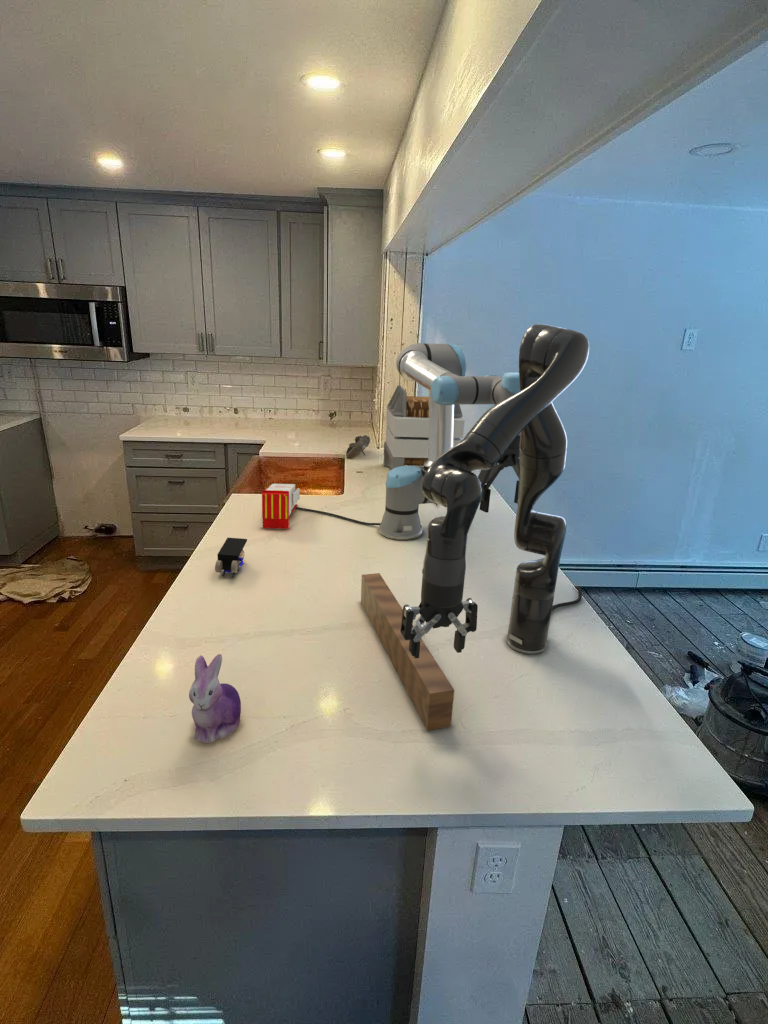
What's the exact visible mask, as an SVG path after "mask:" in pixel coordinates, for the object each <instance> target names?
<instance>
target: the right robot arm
mask: <svg viewBox="0 0 768 1024" xmlns="http://www.w3.org/2000/svg"><path fill="white" fill-rule="evenodd" d="M589 354H590V342H589V339H588V337H587V335H585V334H584V333H583V332H580V331H577V330H574V329H569V328H565V327H560V326H555V325H554V326H553V325H550V324H545V323H535V324H533V325H531V326H529V327H528V328H527V329H526V331H524V334H523V337H522V338H521V342H520V344H519V350H518V373H519V381H520V392H518V393H516V394H515V395H513V396H511V397H509V398H507V399H505V400H503V401H501V402H499V403H498V404H496V405H494V404H493V406H491V407H490V408H489V409H487V410H486V411H485V412H484V413H483V414H482V415H481V416H480V417H479V418H478V420H477V421H476V422H475V423H474V425H473V426H472V427H471V428H470V430H469V431H468V432H467V433H466V435H465V436H464V437H463V438H462V439H461V440H462V441H461V442H459V443H458V444H456V445H455V446H453V447H452V448H451V449H449V450H448V451H447V452H446V453H444V454H443V455H442V456H440V457H439V458H438V459H437V460H436V461H434V462H433V463H432V464H431V465H430V467H429V468H428V469H427V471H426V473H425V475H424V477H423V480H422V491H423V494H424V495H425V497H426V498H427V499H429V500H430V501H432V502H434V503H433V504H436V503H437V505H439V506H442V507H444V508H446V513H445V516H437V517H434V518H433V519H431V520H430V521H429V523H428V526H427V531H426V542H425V543H426V544H425V554H424V558H423V565H422V570H421V574H422V577H421V588H420V589H421V590H420V591H421V592H420V603H419V604H418V606H410V605H409V604H404V605H403V607H402V609H403V613H402V621H401V629H400V632H401V634H402V635H403V637H404V639H405V640H410V644H409V651H410V653H411V654H412V656H414V658H415V659H416V658H419V653H420V641H419V640H420V639H422V638H423V637H424V635H427V634H428V633H429V632H430V631H431V630H432V629H438V628H449V627H450V626H451V625H453V626H454V627H455V628H456V630H455V631H454V637H453V649H454V650H455V652H456V653H458V654H461V653H462V651H463V650H464V649H465V646H466V636H467V635H468V633H470V632H471V633H475V632H476V631H477V627H478V606H479V605H478V604H477V603H476V601H475V600H474V599H473V598H472V597H468V598H467V599H466V600H465V601H463V597H464V589H465V579H466V569H467V560H466V559H467V557H466V555H467V547H468V546H467V544H468V536H469V535H468V534H469V531H470V528H471V526H472V524H473V522H474V519H475V516H476V513H477V511H478V510H479V507H480V501H481V497H482V487H481V482H480V480H479V478H478V475H476V473H474V471H481V470H487V469H490V468H492V467H493V466H494V465H495V464H496V463H497V461H498V460H499V459H500V458H501V456H502V455H503V454H504V452H505V451H506V450H507V449H508V447H509V446H510V445H511V443H512V442H513V441H514V439H515V438H516V437H517V436H518V435H519V433H520V432H521V434H520V447H519V478H518V480H519V494H518V504H517V503H516V505H517V506H516V513H515V522H514V529H513V531H514V532H513V540H514V545H515V548H517V549H518V550H521V551H524V552H527V553H532V554H537V555H541V556H544V557H542V558H538V559H533V560H532V559H530V560H526V561H521V562H520V563H518V565H517V566H516V571H515V576H514V585H513V591H512V599H511V607H510V614H509V620H508V628H507V629H508V630H507V635H506V640H505V641H506V644H507V645H508V647H510V648H511V649H512V650H514V651H516V652H519V653H521V654H526V655H538V654H542V653H544V652H545V651H546V650H547V641H548V635H549V630H550V624H551V619H552V612H554V611H555V610H556V609H558V608H561V607H568V606H572V605H573V606H574V605H577V604H579V603H580V602H581V601H582V599H583V592H582V588H581V586H580V585H576V586H575V589H576V590H577V593H578V596H577V598H576V599H575V600H570V601H565V602H560V603H556V604H554V599H555V593H556V588H557V587H556V586H557V580H558V576H559V575H558V574H559V567H560V562H561V557H562V553H563V548H564V544H565V539H566V535H567V522H566V519H565V517H563V516H560V515H555V514H549V513H545V512H541V511H540V512H539V511H536V510H534V506H535V504H536V503H537V502H538V500H539V499H540V498H541V497H542V495H543V494H544V493H546V491H547V490H548V489H549V488H551V487H552V486H553V485H554V484H555V483H556V482H557V480H558V479H559V478H560V477H561V475H562V474H563V472H564V471H565V467H566V461H567V460H566V459H567V450H568V437H567V433H566V430H565V427H564V425H563V423H562V420H561V418H560V416H559V415H558V412H557V410H556V408H555V406H554V404H553V402H554V400H555V399H557V398H558V397H559V396H560V395H561V394H562V393H563V392H565V390H566V389H567V388H568V387H570V386H571V384H572V383H574V381H576V380H577V378H578V377H579V376H580V374H581V373H582V371H583V370H584V368H585V366H586V364H587V361H588V359H589ZM497 464H498V463H497ZM463 611H464V612H465V622H464V623H461V621H460V620H459V619H458V617H459V616H460V615H461V613H462V612H463ZM418 615H420V616H419V617H418V618H416V617H417V616H418ZM414 621H415V624H413V623H414ZM412 625H413V626H414V627H413V628H412Z"/></svg>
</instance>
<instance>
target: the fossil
mask: <svg viewBox="0 0 768 1024" xmlns="http://www.w3.org/2000/svg"><path fill="white" fill-rule="evenodd" d="M354 441H355V442H350V443H349V444H348V447H347V449H346V451H345V452H346V453H345V457H346V458H347V459H353V458H355V457H357V456H359V455H360V454H363V455H364V456H365V455H366V453H365V452H364V451H365V450H366V448H367V447H369V445H370V443H371V438H370V436H369V435H368V434H367V435H366V434H364V435H358V436H355V438H354Z"/></svg>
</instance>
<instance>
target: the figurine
mask: <svg viewBox="0 0 768 1024" xmlns="http://www.w3.org/2000/svg"><path fill="white" fill-rule="evenodd" d="M222 663H223V655H222V653H218V654H217V655H215V656H214V657H213V659H212V660H211V662H210V663H209V665H208V664H207V661H206V659H205V657H204V656H203V655H201V654H200V655H199V656H197V658H196V659H195V663H194V680H193V682H192V684H191V686H190V688H189V691H188V692H189V693H188V699H189V700H190V702H191V703H192V704H193V706H192V708H191V717H192V720H193V723H194V727H195V730H194V736H193V737H194V740H196V741H197V742H201V743H204V744H211V743H214V742H216V741H218V740H222V739H225V738H227V737H228V736H230V735H231V734H232V733H233V732H235V730H237V729H238V728H239V726H240V723H241V714H242V701H241V697H240V694H239V692H238V690H237V689H236V688H235V687H234V686H233V685H232V684H230V683H220V680H219V674H220V670H221V667H222Z"/></svg>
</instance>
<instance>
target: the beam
mask: <svg viewBox="0 0 768 1024" xmlns="http://www.w3.org/2000/svg"><path fill="white" fill-rule="evenodd" d="M360 604H361V606H362V608H363V610H364V612H365V614H366V616H367V618H368V619H369V622H370V624H371V625H372V627H373V629H374V631H375V633H376V635H377V637H378V639H379V641H380V643H381V645H382V647H383V648H384V651H385V652H386V654H387V656H388V659H389V660H390V662H391V664H392V666H393V668H394V670H395V672H396V674H397V675H398V677H399V680H400V682H401V683H402V685H403V687H404V689H405V691H406V693H407V695H408V697H409V699H410V701H411V702H412V704H413V706H414V708H415V711H416V713H417V714H418V716H419V718H420V720H421V723H422V724H423V726H424V727H425V729H426V731H433V730H438V729H444V728H449V727H451V726H452V717H453V707H454V698H455V689H454V687H453V685H452V684H451V682H450V680H449V679H448V678H447V676H446V674H445V672H444V671H443V669H442V668H441V667H440V665H439V663H438V662H437V660H436V658H435V657H434V656H433V654H432V652H431V651H430V649H429V648H428V646H427V645H426V643H425V642H424V640H423V639H422V638H421V639H420V640H419V641H420V653H419V658H416V659H415V658H414V656H412V654H411V653H410V651H409V644H410V640H405V639H404V637H403V635H402V634H401V632H400V629H401V621H402V613H403V607H402V606H401V604H400V603H399V601H398V600H397V598H396V596H395V595H394V593H393V592H392V590H391V588H390V587H389V586H388V584H387V582H386V581H385V579H384V578H383V576H382V575H381V573H380V572H377V573H366V574H365V573H364V574H361V587H360ZM413 627H414V624H412V628H413Z"/></svg>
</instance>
